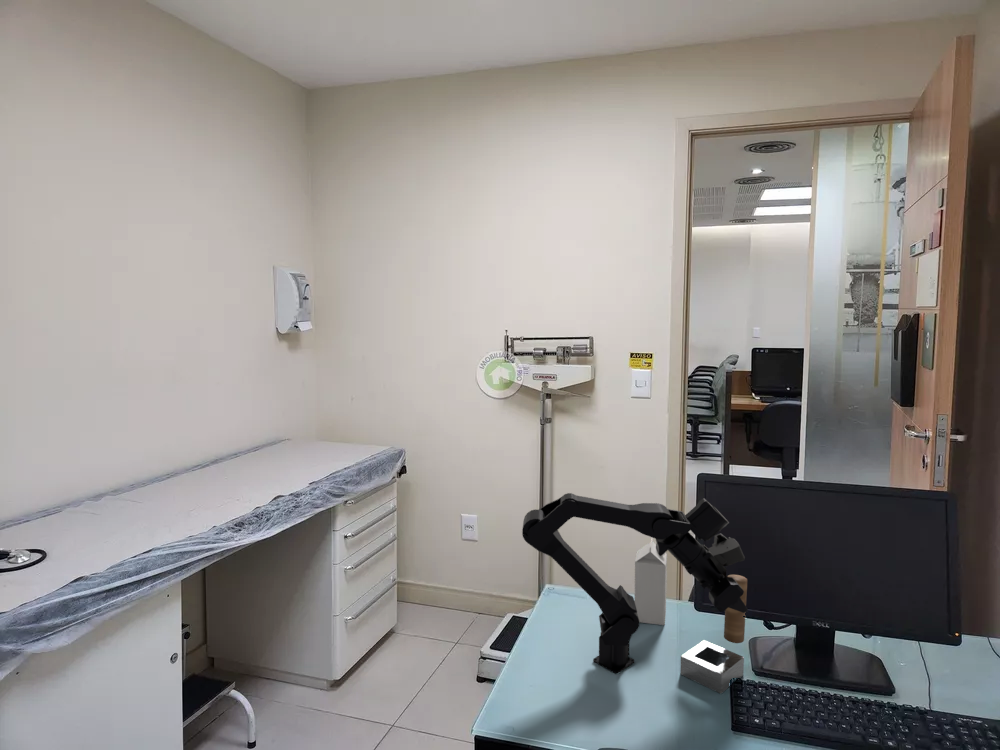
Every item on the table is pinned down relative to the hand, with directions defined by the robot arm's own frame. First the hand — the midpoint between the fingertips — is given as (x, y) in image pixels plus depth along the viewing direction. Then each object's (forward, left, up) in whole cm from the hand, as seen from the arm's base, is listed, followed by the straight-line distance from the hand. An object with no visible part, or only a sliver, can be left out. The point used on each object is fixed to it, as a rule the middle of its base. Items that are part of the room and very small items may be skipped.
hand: (742, 606), depth 131 cm
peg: (-1, +1, -7) cm, 7 cm away
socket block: (-7, +2, -13) cm, 15 cm away
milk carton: (+4, +25, -13) cm, 28 cm away
